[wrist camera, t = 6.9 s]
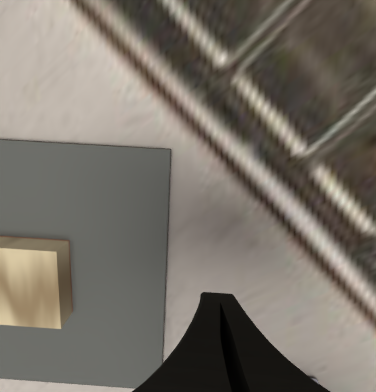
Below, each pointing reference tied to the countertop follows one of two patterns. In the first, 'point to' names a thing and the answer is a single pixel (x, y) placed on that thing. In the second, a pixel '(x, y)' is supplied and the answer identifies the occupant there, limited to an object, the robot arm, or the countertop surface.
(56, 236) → the mat
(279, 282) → the countertop surface
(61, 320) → the tile
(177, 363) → the robot arm
